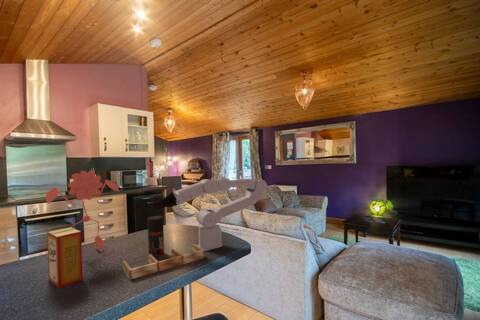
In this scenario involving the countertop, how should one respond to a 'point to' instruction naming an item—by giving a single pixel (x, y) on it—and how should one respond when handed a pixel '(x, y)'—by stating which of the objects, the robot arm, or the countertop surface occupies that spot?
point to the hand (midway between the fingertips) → (155, 206)
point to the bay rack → (164, 262)
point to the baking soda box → (64, 256)
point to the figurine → (84, 194)
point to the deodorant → (155, 236)
